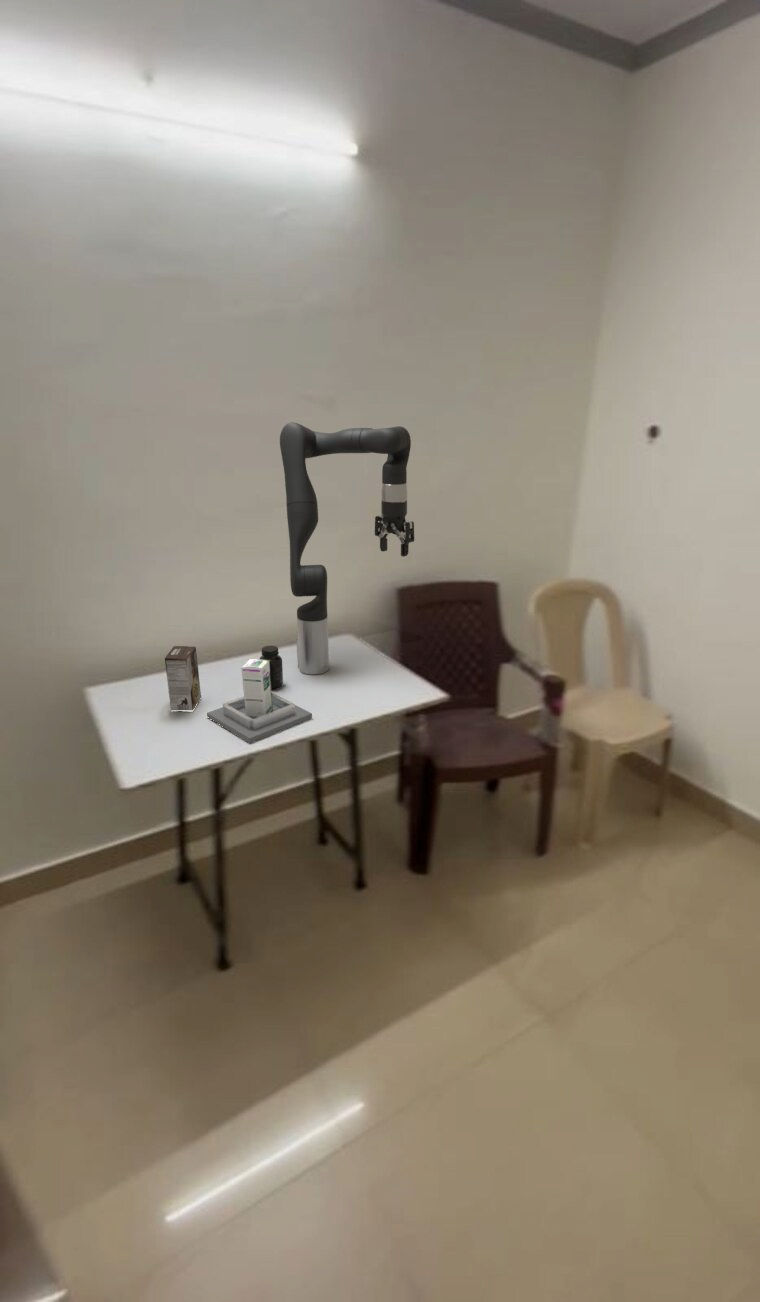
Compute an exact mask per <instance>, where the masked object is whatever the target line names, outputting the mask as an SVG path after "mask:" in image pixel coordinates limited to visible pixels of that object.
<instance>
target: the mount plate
mask: <svg viewBox="0 0 760 1302" xmlns="http://www.w3.org/2000/svg"><path fill="white" fill-rule="evenodd" d="M294 705H295V714H294V715H292V716H289V717H287V718H284V719H281V720H279V721H276V722H274V723H271V724H269V725H266V726H264V727H261V728H259V729H256V730H253V729H248V728H247V727H245V726H243V725H242V724H240V723H238V722H236V721H235V720H233V719H231V718H230V717H228V716H226V715H224V712H223V706H222V707H220V708H216V709H214V710H213V709H212V710H211V711H208V712H207V713H206V716H207V717H209V718H210V719H212V720H214V721H215V722H217V723H218V724H217V723H216V724H217V725H219V724H220V725H221V727H222V726H223V727H224V729H225V728H226V729H225V730H227V731H228V730H229V731H228V732H230V731H231V732H230V733H232V734H233V733H234V735H235V734H236V735H235V736H237V735H238V736H240V737H241V738H240V737H239V738H240V739H242V738H243V739H244V740H243V739H242V740H243V741H245V742H247V743H248V742H249V744H252V742H253V743H254V741H255V742H258V741H260V740H262V738H263V739H264V738H268V737H269V736H273V735H275V734H277V733H279V732H282V731H285V730H286V729H289V728H292V727H294V726H297V725H300V724H301V723H304V722H307V721H309V720H311V719H313V714H312V712H310V711H309V710H306V709H304V708H302V707H300V706H298V705H296V704H294ZM278 709H281V708H280V707H278V706H276V705H274V704H273V709H272V710H271V712H273V711H276V710H278ZM237 710H238V711H240V712H241V713H243V714H245V715H246V711H245V707H243V708H240V709H237ZM248 717H250V716H248ZM209 718H208V719H209ZM250 718H252V719H255V718H257V717H250ZM210 719H209V720H210ZM212 720H211V721H212ZM214 721H213V722H214ZM215 722H214V723H215ZM220 725H219V726H220ZM223 727H222V728H223ZM238 736H237V737H238Z"/></svg>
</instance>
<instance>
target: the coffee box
mask: <svg viewBox="0 0 760 1302" xmlns="http://www.w3.org/2000/svg"><path fill="white" fill-rule="evenodd" d="M164 662H165V663H164V664H165V671H166V679H167V680H166V681H167V687H168V696H169V705H170V711H171V710H193V709H194V708H195V706H196V704H197V703H198V701H199V700H200V701H201V699H202V692H201V684H200V682H201V681H200V673H199V665H198V656H197V647H196V646H189V645H188V646H187V645H186V646H185V645H173V647H172V648H171V649H170V650H169V652H168V653H167V655H166V656H165V657H164ZM200 698H201V699H200ZM200 701H199V702H200ZM198 704H199V703H198ZM198 704H197V705H198ZM196 707H197V706H196ZM195 709H196V708H195Z"/></svg>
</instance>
